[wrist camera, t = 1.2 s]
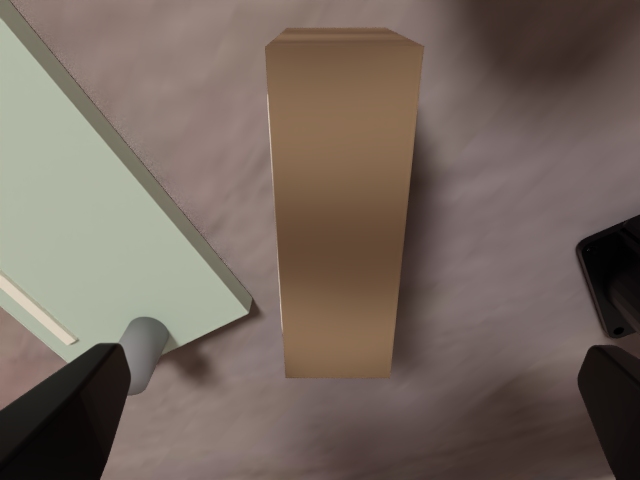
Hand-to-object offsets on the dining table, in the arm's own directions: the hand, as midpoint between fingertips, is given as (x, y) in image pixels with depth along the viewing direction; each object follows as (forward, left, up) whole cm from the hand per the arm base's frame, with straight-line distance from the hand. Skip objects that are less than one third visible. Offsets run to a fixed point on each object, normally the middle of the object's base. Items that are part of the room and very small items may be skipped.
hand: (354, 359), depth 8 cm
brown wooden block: (0, 0, -12) cm, 12 cm away
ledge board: (+5, +12, -11) cm, 17 cm away
